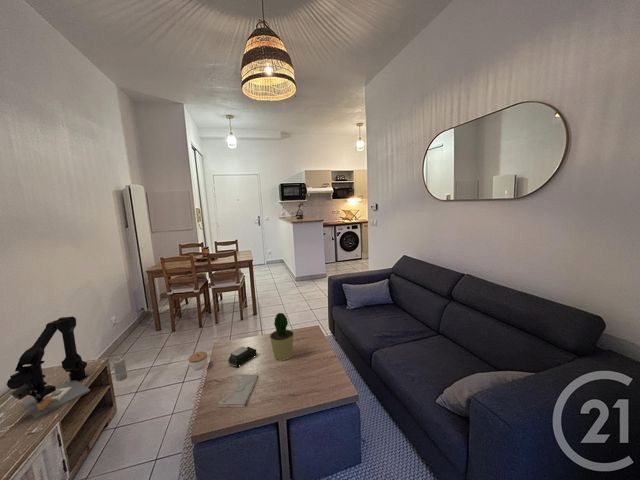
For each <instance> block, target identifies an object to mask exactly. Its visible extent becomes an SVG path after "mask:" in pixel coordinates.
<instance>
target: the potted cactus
mask: <svg viewBox="0 0 640 480" xmlns="http://www.w3.org/2000/svg"><path fill="white" fill-rule="evenodd" d="M274 317H275V318H274V322H273V326H274V327H275V328H274V329H275V330H274V331H273V332H271V333H270V335H269V339H270V343H271V346H272V347H271V348H272V351H273V356H274V358H276V359H278V360H277V361H279V360H284V359H287V358H289V357H290V356H291V355H293V344H294V332H293V331H292V330H290V329H287V328H288V326H289V320H288V315H286V314H285V312H283V313H282V312H278V313H276V315H275V316H274ZM291 357H292V356H291ZM276 359H275V360H276ZM289 359H290V358H289ZM287 360H288V359H287ZM284 361H285V360H284Z"/></svg>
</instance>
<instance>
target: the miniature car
mask: <svg viewBox="0 0 640 480" xmlns="http://www.w3.org/2000/svg"><path fill="white" fill-rule="evenodd" d="M257 352H258V351H257V349H256V348H254V347H250V346H246V347H245V346H241V347H239V348H237V349H235V350H233V351H231V353H230V356H229V358H228V361H227V363H228V365H231V366H233V367H237V366H239V365H241V364H243V363H245V362H247V361H248V360H250V359H252V358H253V357H254V356H256V357H257V354H258V353H257ZM254 358H255V357H254ZM241 366H242V365H241Z"/></svg>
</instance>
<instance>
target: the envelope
mask: <svg viewBox="0 0 640 480" xmlns="http://www.w3.org/2000/svg"><path fill="white" fill-rule="evenodd" d="M235 376H236V377H235ZM237 376H239V377H240V376H241V377H242V378H240V379H241V381H240V379H239V380H238V377H237ZM257 376H258V377H259V375H258V374H257V373H255V374H235V375H233V377H232V379H231V380H230V383H232V381H233V380H234V379H235V382H236V385H237V386H236V387H235V388H234V391H233V392H232V393H230V394H229V395H228V396H226V397H225V398H223V399H222V400H223V401H225V400H226V399H227V398H229V397H230V396H231V395H232V396H233V398H231V399H232V400H231V399H229V400H228V401H226V403H222V402H223V401H222V400H221V401H220V400H218V403H219V404H222V405H245V403H246V401H247V398H248V396H249V394H250V391H251V389H252V387H253V385H254V383H255V384H256V382H255V380H256V378H257ZM257 379H258V378H257ZM242 380H243V381H242ZM256 381H257V380H256ZM230 383H229V384H228V386H230ZM240 384H241V385H240ZM254 386H255V385H254ZM253 388H254V387H253ZM252 390H253V389H252ZM251 392H252V391H251ZM225 393H226V390H225V391H224V392H223V394H225ZM233 394H234V395H235V396H234V395H233ZM250 395H251V394H250ZM249 397H250V396H249ZM248 399H249V398H248ZM247 402H248V401H247ZM218 403H217V404H218ZM246 404H247V403H246ZM245 406H246V405H245Z"/></svg>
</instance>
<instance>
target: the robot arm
mask: <svg viewBox="0 0 640 480" xmlns="http://www.w3.org/2000/svg"><path fill="white" fill-rule="evenodd" d="M76 327H77V318H76V317H75V316H64V317H59V318H57V319H56V320H53V321H50V322H48V323H46V324H45V328H44V330H43V331H42V332H41V334H40V335H39V337H38V338H37V339H36V341H35V342H34V343H33V345H32V346H31V347H30V348H28V349H26V350H25V351H24V352H23V353H22V354H21V356H20V357H19V359H18V362H17V365H16V367H15V370H14V374H11V375H10V377H9V379H8V380H7V382H6V386H7V388H9V389H10V390H14V391H13V392H12V393H11V394H10V395H11V396H12V397H13V398H14V399H15V400H22V399H24V398H26V397H27V396H30V397H32V398H33V397H34V399H35V400H36V401H37V403H39V402H40V401H41V400H43V398H44V397H45V396H47V395H48V394H50V393H52V392H54V391H56V387H57V386H55V385H51V384H47V382H46V381H45V378H46V374H43V373H44V372H43V369H42V365H43V364H44V363H45V360H43V357H44V355H45V349H46V347H47V346H48V344H49V343H50V341H51V340H52V339H53V336H54V335H55V333H56V332H57V331H59V333H61V335H62V340H63V341H62V343H63V346H64V347H63V348H64V354H65V357H64V359H63V360H62V361H61V368H62V369H63V370H64V371H65V372H66V373H68V381H73V380H76V381H78V382H80V381H81V380H83V379H86V378H87V377H88V375H86V370H85V369H86V367H87V366H88V362H87V361H84V360H83V359H82V356H81V355H80V354H79V353H78V351H77V344H76V338H75V333H74V332H75V331H74V330H75V328H76Z"/></svg>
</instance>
